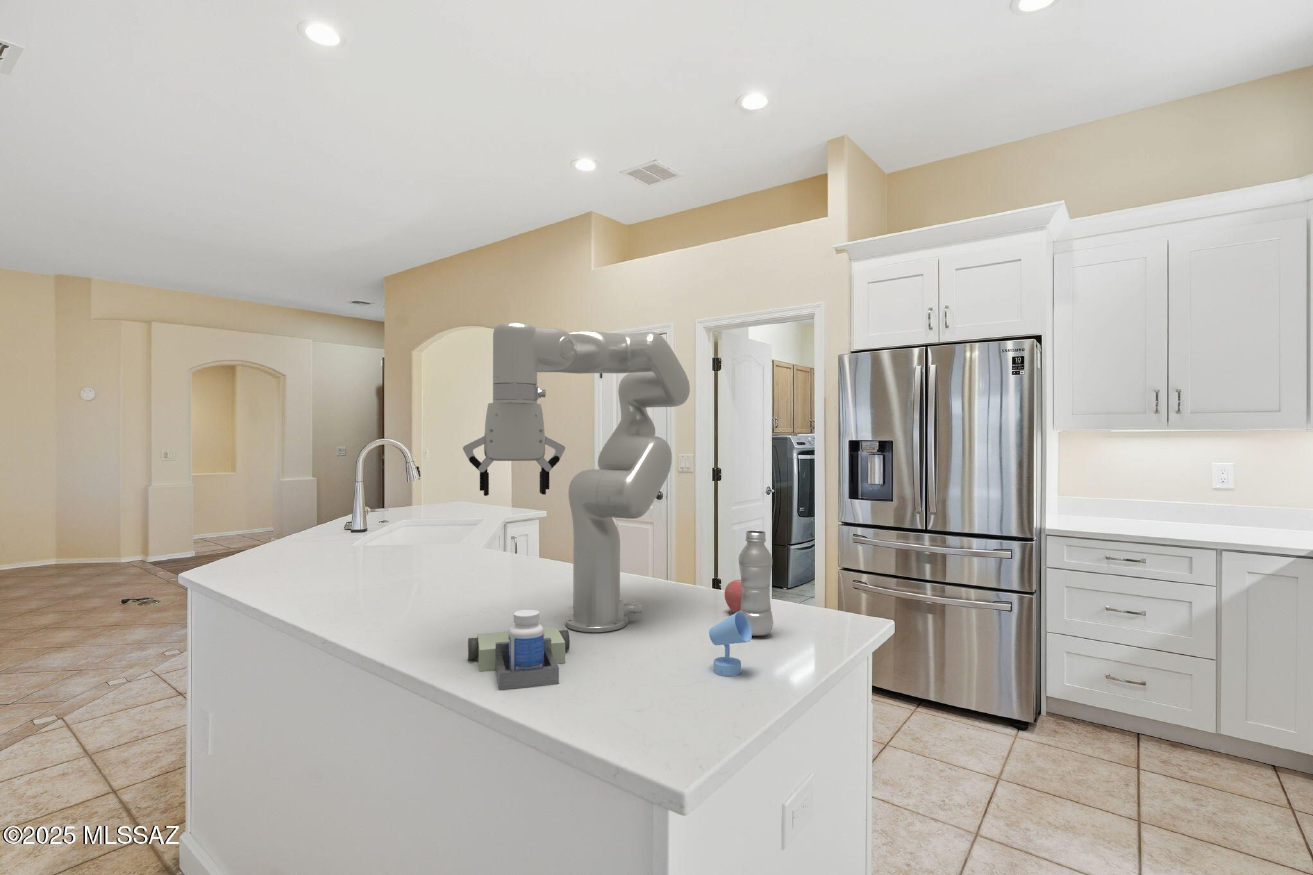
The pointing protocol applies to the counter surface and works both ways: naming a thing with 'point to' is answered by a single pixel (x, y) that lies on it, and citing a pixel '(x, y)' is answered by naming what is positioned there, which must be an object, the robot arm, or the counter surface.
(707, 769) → the counter surface
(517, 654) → the pill bottle
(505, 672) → the gray square tray
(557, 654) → the green block with knobs
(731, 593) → the apple
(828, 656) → the counter surface
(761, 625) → the plastic bottle
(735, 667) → the spotlight
